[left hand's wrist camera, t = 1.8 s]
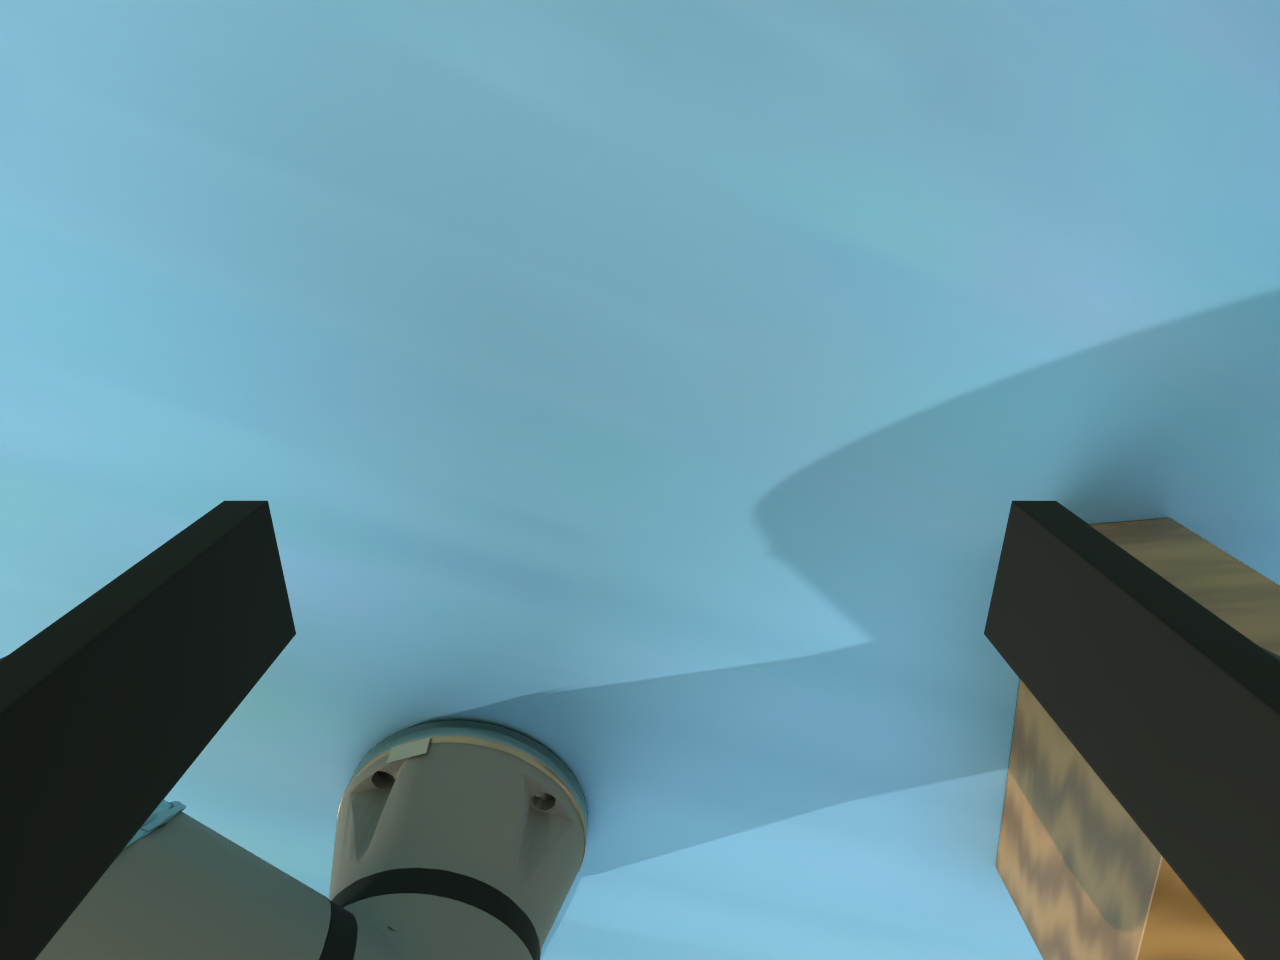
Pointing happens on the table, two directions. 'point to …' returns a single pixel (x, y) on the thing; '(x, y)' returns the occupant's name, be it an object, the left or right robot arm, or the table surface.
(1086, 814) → the box
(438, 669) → the table surface
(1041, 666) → the left robot arm
